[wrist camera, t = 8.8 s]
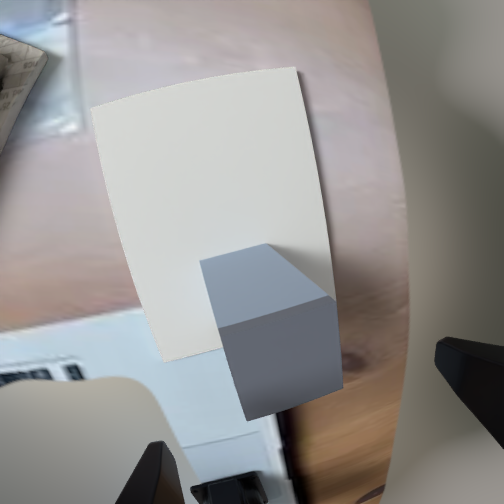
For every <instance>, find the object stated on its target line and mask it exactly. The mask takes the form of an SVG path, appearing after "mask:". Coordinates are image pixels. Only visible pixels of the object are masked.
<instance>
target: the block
mask: <svg viewBox="0 0 504 504" xmlns="http://www.w3.org/2000/svg"><path fill="white" fill-rule="evenodd" d="M199 262H200V266H201V270H202V273H203V277H204V281H205V285H206V288H207V292H208V296H209V299H210V303H211V306H212V310H213V314H214V317H215V321H216V324H217V328H218V331H219V335H220V338H221V341H222V345H223V348H224V351H225V355H226V358H227V361H228V365H229V368H230V371H231V374H232V377H233V381H234V384H235V387H236V390H237V393H238V396H239V399H240V403H241V406H242V409H243V412H244V415H245V418H246V421H251V420H254V419H258V418H261V417H264V416H267V415H271V414H274V413H277V412H280V411H283V410H286V409H289V408H292V407H295V406H298V405H300V404H303V403H306V402H309V401H311V400H314V399H317V398H320V397H322V396H325V395H327V394H330V393H332V392H335V391H337V390H340V389H342V388H343V376H342V361H341V348H340V336H339V324H338V314H337V304H336V301H335V300H334V299H333V298H332V297H330V296H329V295H328V294H327V293H326V292H324V291H323V290H322V289H321V288H320V287H318V286H317V285H316V284H315V283H314V282H312V281H311V280H310V279H309V278H308V277H306V276H305V275H304V274H303V273H302V272H300V271H299V270H298V269H297V268H295V267H294V266H293V265H292V264H291V263H289V262H288V261H287V260H286V259H285V258H283V257H282V256H281V255H280V254H279V253H277V252H276V251H275V250H274V249H272V248H271V247H270V246H269V245H268V244H266V243H265V244H261V245H257V246H253V247H249V248H246V249H242V250H238V251H234V252H230V253H227V254H223V255H219V256H215V257H211V258H208V259H204V260H200V261H199Z"/></svg>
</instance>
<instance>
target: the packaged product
mask: <svg viewBox="0 0 504 504" xmlns="http://www.w3.org/2000/svg"><path fill="white" fill-rule="evenodd" d="M47 60H48V57H47V55H46V53H45V51H42V50H40V49H37V48H35V47H33V46H30V45H27V44H25V43H22V42H19V41H16V40H14V39H11V38H8V37H6V36H3V35H1V34H0V155H1V153H2V151H3V148H4V146H5V144H6V141H7V139H8V137H9V134H10V132H11V130H12V128H13V125H14V123H15V121H16V119H17V117H18V115H19V113H20V111H21V108H22V106H23V104H24V102H25V100H26V99H27V97H28V95H29V93H30V91H31V89H32V87H33V85H34V84H35V82H36V80H37V78H38V76H39V75H40V73H41V71H42V69H43V68H44V66H45V64H46V62H47Z"/></svg>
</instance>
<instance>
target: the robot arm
mask: <svg viewBox="0 0 504 504" xmlns="http://www.w3.org/2000/svg"><path fill="white" fill-rule="evenodd" d="M434 361H435V365H436V367H437V369H438V370H439V371H440V373H441V374H442V375H443V377H444V378H445V379H446V381H447V382H448V383H449V385H450V386H451V388H452V389H453V391H454V392H455V393H456V395H457V396H458V397H459V398H460V400H461V401H462V402H463V403H464V404H465V405H466V406H467V408H468V409H469V410H470V411H471V412H472V413H473V414H474V415H475V417H476V418H477V419H478V420H479V421H480V422H481V423H482V425H483V426H484V427H485V428H486V429H487V430H488V432H489V433H490V434H491V435H492V436H493V437H494V438H495V440H496V441H497V442H498V443H499V444H500V446H501V447H502V448H503V449H504V346H499V345H493V344H486V343H480V342H475V341H469V340H464V339H458V338H453V337H445V338H443V339H441V340H439V341H438V342H437V344H436V351H435V360H434ZM190 491H191V493H192V494H193V496H194V497H195V499H196V500H197V501H198V503H199V504H266V503H268V499H267V497H266V494H265V492H264V490H263V487H262V485H261V482H260V480H259V477H258V475H257V473H255V472H251V473H247V474H243V475H240V476H236V477H232V478H228V479H223V480H219V481H215V482H210V483H205V484H200V485H195V486H192V487H191V488H190ZM115 504H185V502H184V497H183V493H182V488H181V484H180V480H179V475H178V470H177V465H176V461H175V459H174V457H173V455H172V453H171V452H170V450H169V448H168V447H167V445H166V443H165V442H164V441H156V442H151V443H150V444H149V445H148V446H147V448H146V450H145V451H144V454H143V455H142V457H141V459H140V460H139V462H138V464H137V466H136V467H135V469H134V471H133V473H132V475H131V476H130V478H129V480H128V481H127V483H126V485H125V487H124V489H123V490H122V492H121V494H120V496H119V497H118V499H117V501H116V503H115Z"/></svg>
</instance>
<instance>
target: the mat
mask: <svg viewBox="0 0 504 504" xmlns="http://www.w3.org/2000/svg"><path fill="white" fill-rule="evenodd" d="M90 110H91V116H92V121H93V127H94V132H95V137H96V143H97V147H98V152H99V157H100V162H101V166H102V171H103V175H104V179H105V183H106V188H107V192H108V196H109V200H110V203H111V207H112V211H113V215H114V218H115V222H116V226H117V229H118V233H119V236H120V240H121V243H122V246H123V250H124V253H125V256H126V259H127V263H128V266H129V269H130V272H131V275H132V278H133V281H134V284H135V287H136V290H137V293H138V296H139V299H140V302H141V304H142V307H143V310H144V313H145V315H146V318H147V321H148V324H149V326H150V329H151V331H152V334H153V337H154V339H155V342H156V344H157V347H158V349H159V352H160V354H161V357H162V359H163V362H169V361H173V360H177V359H181V358H185V357H189V356H193V355H196V354H200V353H204V352H208V351H211V350H215V349H219V348H222V347H223V345H222V341H221V338H220V335H219V331H218V328H217V324H216V321H215V317H214V314H213V310H212V306H211V303H210V299H209V296H208V292H207V288H206V285H205V281H204V277H203V273H202V270H201V266H200V262H199V261H200V260H204V259H208V258H211V257H215V256H219V255H223V254H227V253H230V252H234V251H238V250H242V249H246V248H249V247H253V246H257V245H261V244H265V243H266V244H268V245H269V246H270V247H271V248H272V249H274V250H275V251H276V252H277V253H279V254H280V255H281V256H282V257H283V258H285V259H286V260H287V261H288V262H289V263H291V264H292V265H293V266H294V267H295V268H297V269H298V270H299V271H300V272H302V273H303V274H304V275H305V276H306V277H308V278H309V279H310V280H311V281H312V282H314V283H315V284H316V285H317V286H318V287H320V288H321V289H322V290H323V291H324V292H326V293H327V294H328V295H329V296H330V297H332V298H333V299H334V300H335V301H336V294H335V286H334V277H333V269H332V261H331V254H330V247H329V239H328V233H327V226H326V219H325V213H324V207H323V200H322V194H321V189H320V183H319V177H318V171H317V166H316V161H315V155H314V150H313V145H312V140H311V135H310V130H309V125H308V120H307V116H306V111H305V107H304V102H303V98H302V93H301V89H300V85H299V80H298V76H297V72H296V68H295V67H285V68H275V69H265V70H257V71H249V72H241V73H235V74H228V75H222V76H216V77H210V78H205V79H199V80H194V81H189V82H185V83H180V84H175V85H171V86H167V87H162V88H158V89H154V90H150V91H146V92H143V93H139V94H135V95H132V96H128V97H125V98H121V99H118V100H115V101H111V102H108V103H105V104H102V105H99V106H96V107H93V108H90ZM336 304H337V303H336Z"/></svg>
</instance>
